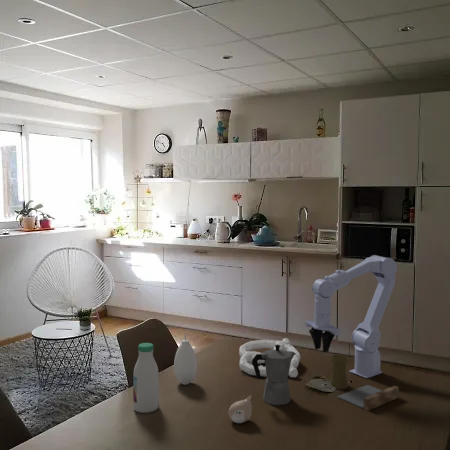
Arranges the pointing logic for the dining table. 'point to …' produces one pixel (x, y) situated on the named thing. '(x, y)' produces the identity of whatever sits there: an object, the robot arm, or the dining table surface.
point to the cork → (339, 371)
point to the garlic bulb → (241, 410)
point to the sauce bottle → (185, 363)
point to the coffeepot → (275, 375)
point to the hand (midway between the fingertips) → (321, 350)
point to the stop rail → (380, 398)
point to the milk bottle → (145, 381)
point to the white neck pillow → (258, 344)
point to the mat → (359, 395)
